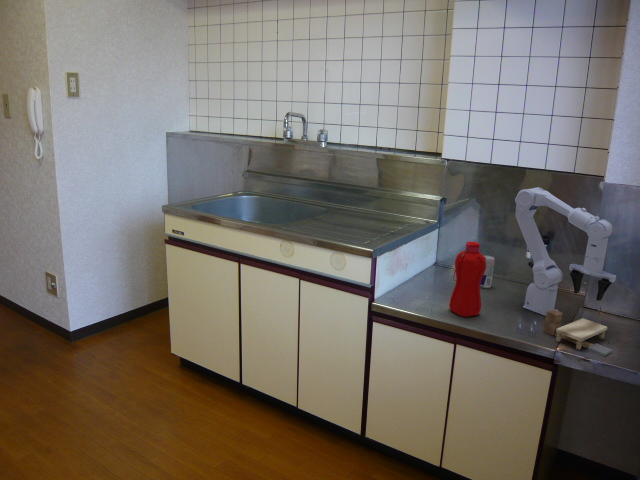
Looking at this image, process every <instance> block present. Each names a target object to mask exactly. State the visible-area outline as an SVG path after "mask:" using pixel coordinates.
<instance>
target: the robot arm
mask: <svg viewBox="0 0 640 480" xmlns="http://www.w3.org/2000/svg"><path fill="white" fill-rule="evenodd" d="M514 202H515V205H516V206H515V219H516V220H517V223H518V226H519V229H520V231H521V234H522V236H523V239H524V241H525V244H526V246H527V249H528V251H529V254H530V257H531V259H532V261H533V266H532V273H533V282H531V283H530V284H528V286H527V289H526V292H525V293H526V294H525V297H524V304H523V306H522V308H524V309H527V310H529V311H531V312H534V313H537V314H540V315H542V316H545V317H546V313H547V311H549V310H552V309H553V310H556V311H559V310H558V309H557V308H556V309H555V306H556V299H557V295H558V294H557V293H558V289H559V287H558V285H559V284H560V283H561V282H562V280H563V277H564V275H563V271H562V270H561V269H560V268H559V267H558V266H557V263H556V262H555V261H554V260H553V259H552V258H550V255H549V253H548V250H547V247H546V246H545V242H544V241H543V238H542V235H541V233H540V230H539V227H538V226H537V223H536V221H535V218H534V216H535V214H536V212H537V210H538V209H539V207H547V208H549V209H552V210H554V211H555V212H557V213H559V214H561V215H563V216H565V217H567V219H568V220H567V221H568V223H570V224H571V225H573V226H575V227H576V228H578V229H580V230H582V231H583V232H585V233H586V235H587V236H588V238H587V239H588V240H587V245H586V250H585V255H584V259H583V260H584V262H583V265H582V264H576V263H570V264H569V268H568V270H569V271H571V272H569V275H570V278H571V280H572V286H573V294H578V293H580V291H581V287H582V282H583V279H584V275H588V276H591V277H594V278H599V280H598V281H597V284H598V285H597V289H598V290H597V295H596V301H602V300H603V298H604V295H605V293H606V292H607V290H608V289H609V287H611V285H612V284H613V283H614V282H616V280H617V275H615V274H612V273H610V272H607V271H604V270H603V269H604V264H605V260H606V259H605V258H606V252H607V249H608V241H609V236H611V235H612V233H613V231H614V228H613V225H612V223H611V222H610V221H609V220H608V219H600V216H597V215H596V216H595V215H593V214H591V213H590V212H588V211H587V209H586V208H585V207H582V208H581V207H576V208H573V207H572V206H571V205H569V204H568V203H566V202H564V201H562V200H561V199H559V198H558V197H556V196H554V195H553V194H552V193H550V192H549V191H548V190H545V189H543V188H542V187H538V186H537V187H533V188H523V189H520V191H518V193H517V195H516V197H515V198H514Z"/></svg>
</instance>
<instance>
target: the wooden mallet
mask: <svg viewBox="0 0 640 480" xmlns="http://www.w3.org/2000/svg"><path fill="white" fill-rule="evenodd" d="M556 310H557V309H556ZM556 310H553V309H552V310H549V311H547V313H546V316H545V320H544V323H543V325H544V326H543V333H545V334H547V335H551V336H555V337H557V332H556V329H557V328H560V327H562V321H563V320H562V319H563V314H564V313H563V312H561V311H559V310H558V311H556ZM562 338H563V339H562ZM561 339H562V340H565V339H566V341H567V340H568V341H567V342H570V341H571V342H570V343H572V342H573V344H575V345H576V344H577V340H576V339H573V338H571V337H568V336H566V335H563V334H562V337H561ZM594 344H595V343H592V342H590V341H586V340H584V341H582V346H583V348H585V349H588V347H589V346H592V345H594ZM582 346H581V347H582Z"/></svg>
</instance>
